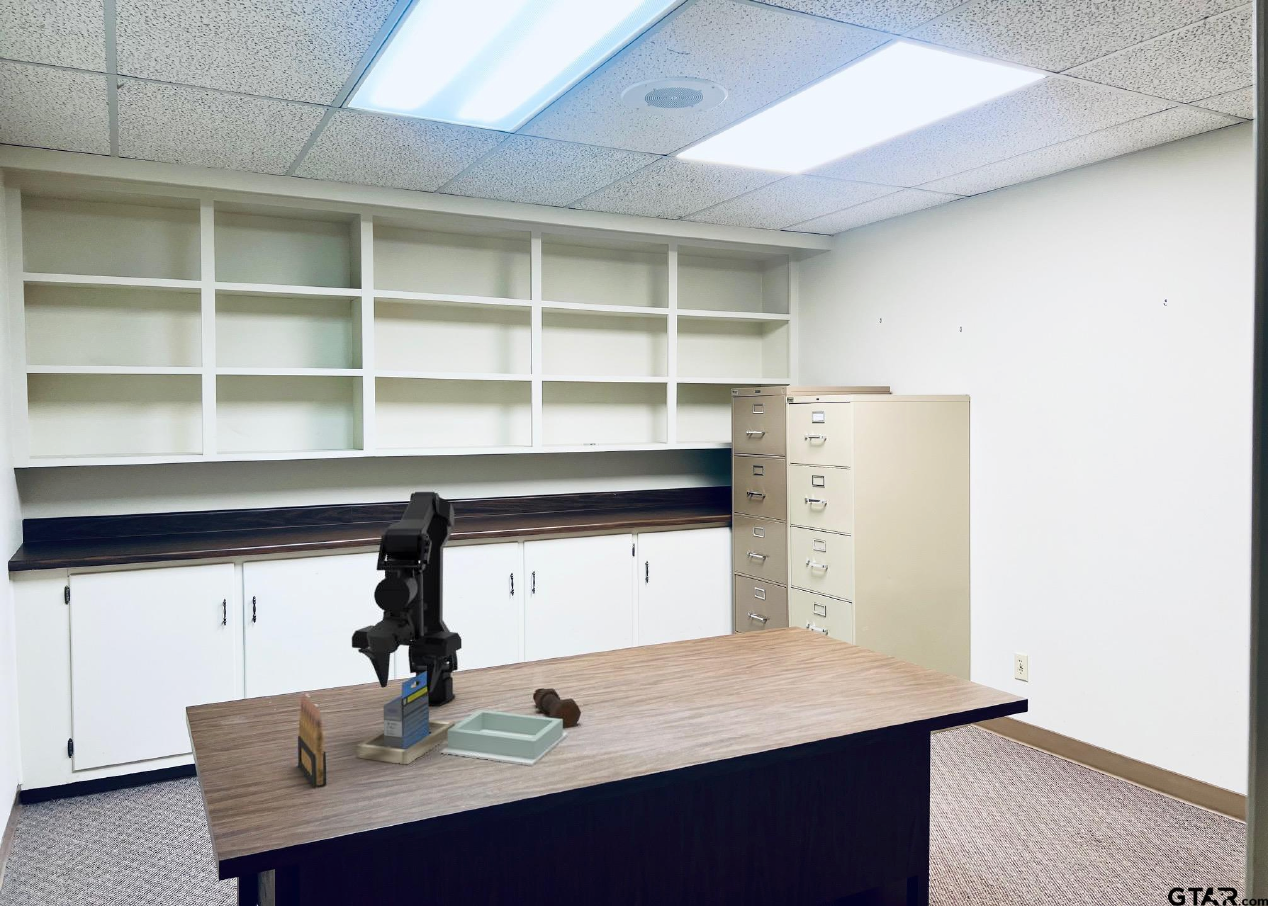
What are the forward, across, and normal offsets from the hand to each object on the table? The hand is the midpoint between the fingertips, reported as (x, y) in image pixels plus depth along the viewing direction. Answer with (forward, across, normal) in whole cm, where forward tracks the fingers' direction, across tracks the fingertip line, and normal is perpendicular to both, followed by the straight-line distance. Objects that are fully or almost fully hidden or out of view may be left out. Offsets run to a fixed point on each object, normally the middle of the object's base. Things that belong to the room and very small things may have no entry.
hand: (406, 689), depth 152 cm
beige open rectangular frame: (+10, 0, 0) cm, 10 cm away
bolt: (+10, +18, +22) cm, 30 cm away
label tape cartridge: (+10, 0, 0) cm, 10 cm away
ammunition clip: (+10, -7, -16) cm, 20 cm away
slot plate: (+10, +16, +6) cm, 20 cm away
